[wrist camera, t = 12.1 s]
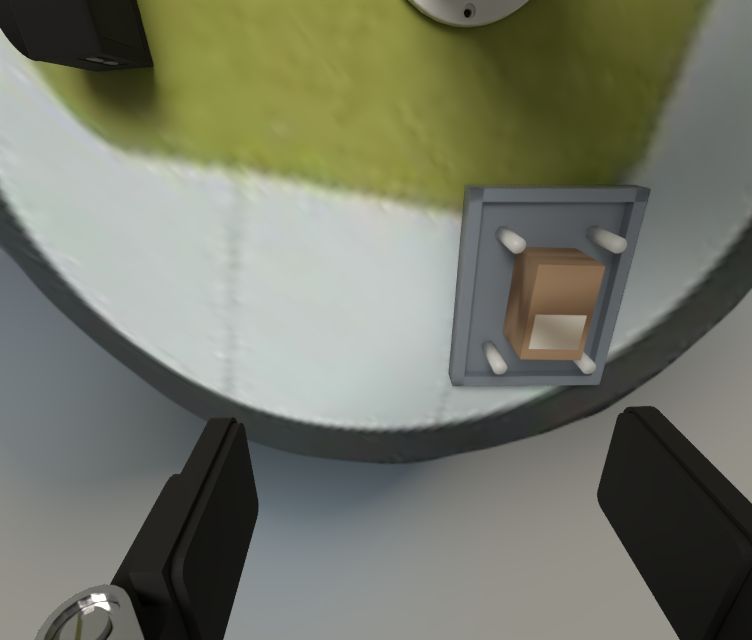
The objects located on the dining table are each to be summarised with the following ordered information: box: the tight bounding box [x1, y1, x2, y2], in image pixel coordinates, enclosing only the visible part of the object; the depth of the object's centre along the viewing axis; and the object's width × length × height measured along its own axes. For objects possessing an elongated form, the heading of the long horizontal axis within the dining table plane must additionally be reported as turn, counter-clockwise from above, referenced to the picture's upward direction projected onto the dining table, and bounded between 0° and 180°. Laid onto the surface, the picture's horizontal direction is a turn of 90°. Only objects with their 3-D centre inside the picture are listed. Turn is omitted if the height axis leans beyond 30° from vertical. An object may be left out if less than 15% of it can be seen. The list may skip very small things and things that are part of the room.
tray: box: [449, 185, 650, 386], centre depth 37 cm, size 18×14×5 cm
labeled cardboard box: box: [503, 247, 605, 360], centre depth 36 cm, size 8×5×5 cm, turn 178°
